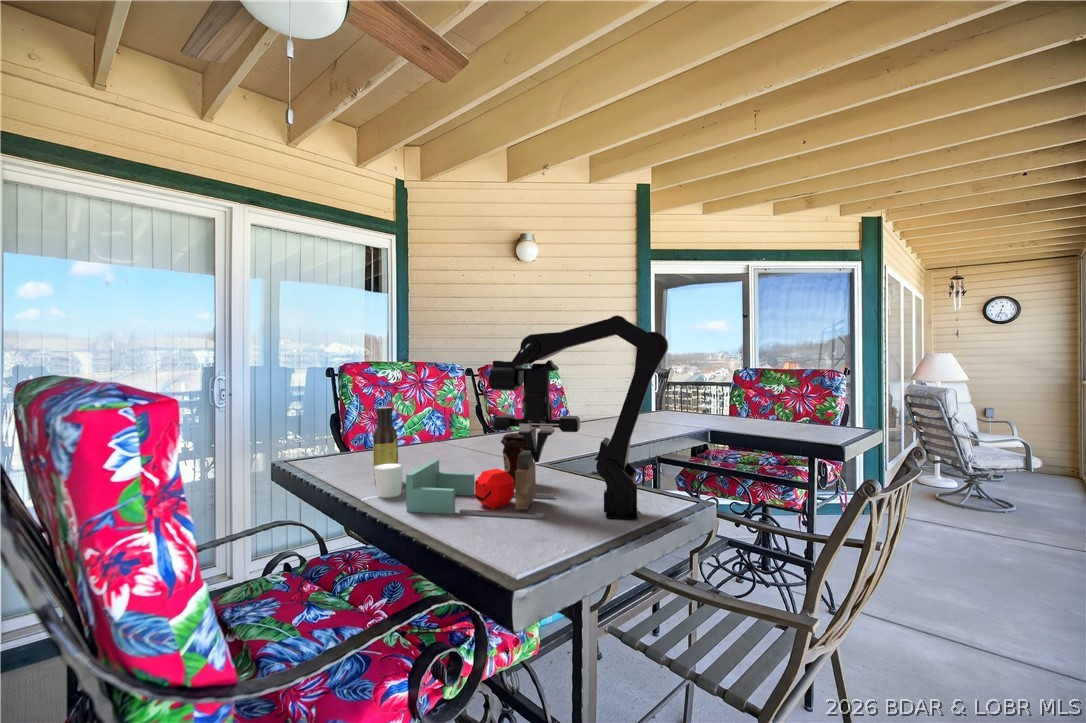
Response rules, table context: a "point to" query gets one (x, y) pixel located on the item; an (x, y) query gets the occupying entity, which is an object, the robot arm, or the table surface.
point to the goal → (436, 489)
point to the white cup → (388, 479)
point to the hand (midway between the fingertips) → (536, 461)
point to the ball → (494, 488)
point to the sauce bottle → (385, 438)
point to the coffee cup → (513, 451)
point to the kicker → (525, 480)
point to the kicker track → (508, 514)
